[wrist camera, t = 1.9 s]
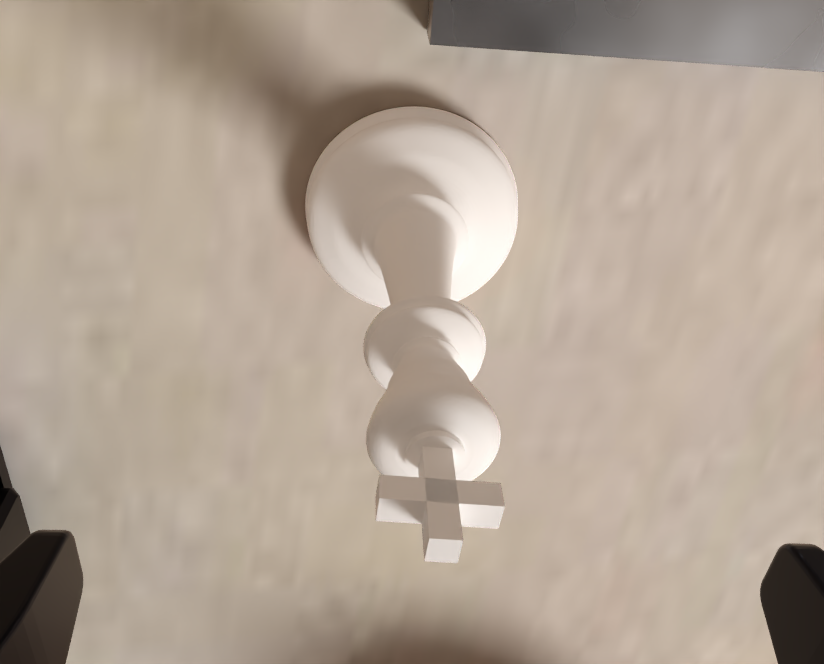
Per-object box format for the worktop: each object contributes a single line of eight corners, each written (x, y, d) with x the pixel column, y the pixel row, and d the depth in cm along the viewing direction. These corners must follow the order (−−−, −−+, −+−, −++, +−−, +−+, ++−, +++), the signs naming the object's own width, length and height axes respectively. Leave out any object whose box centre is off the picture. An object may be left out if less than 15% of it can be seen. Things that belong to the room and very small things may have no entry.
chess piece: (312, 91, 17) (253, 383, 8) (538, 120, 17) (692, 419, 9) (299, 289, 19) (244, 656, 11) (494, 308, 20) (581, 670, 12)
